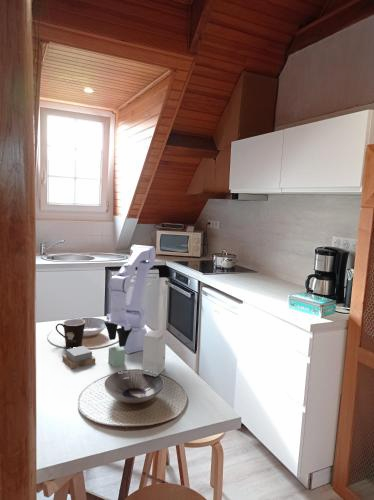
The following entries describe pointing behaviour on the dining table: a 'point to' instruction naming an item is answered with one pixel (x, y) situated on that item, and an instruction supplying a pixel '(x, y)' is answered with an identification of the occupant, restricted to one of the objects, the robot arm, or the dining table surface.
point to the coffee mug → (73, 332)
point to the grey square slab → (78, 354)
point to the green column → (116, 356)
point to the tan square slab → (78, 364)
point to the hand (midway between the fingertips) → (117, 342)
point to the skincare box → (154, 351)
